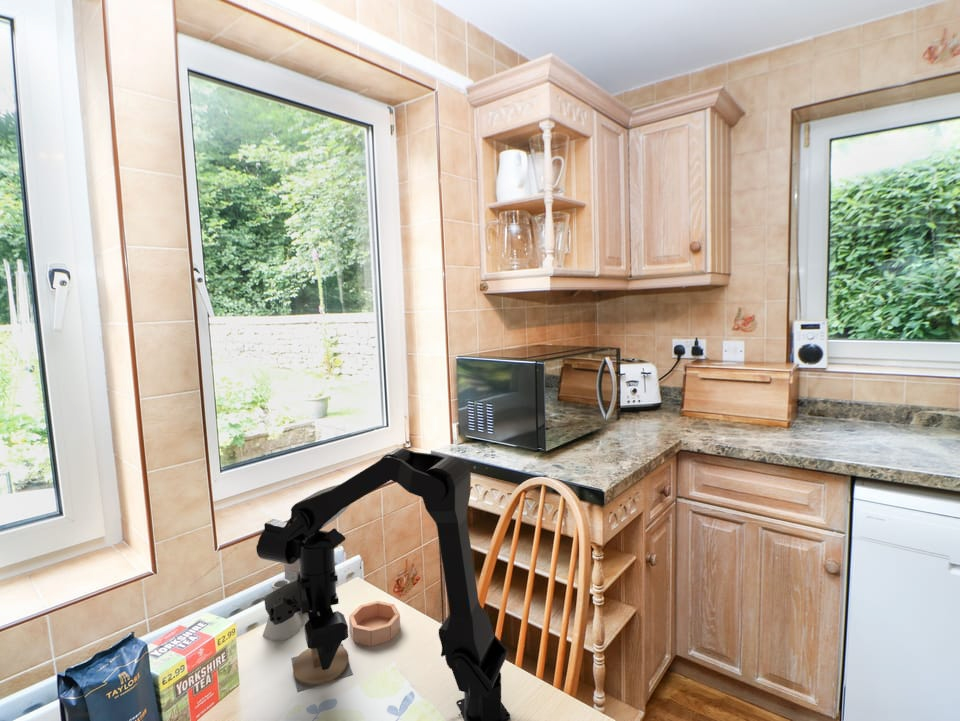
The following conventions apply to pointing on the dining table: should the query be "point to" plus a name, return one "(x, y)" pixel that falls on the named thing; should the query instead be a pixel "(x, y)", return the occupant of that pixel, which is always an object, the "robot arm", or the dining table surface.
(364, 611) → the bowl
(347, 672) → the mat
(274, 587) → the flask
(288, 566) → the energy drink
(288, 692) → the dining table surface
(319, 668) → the lid
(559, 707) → the dining table surface
